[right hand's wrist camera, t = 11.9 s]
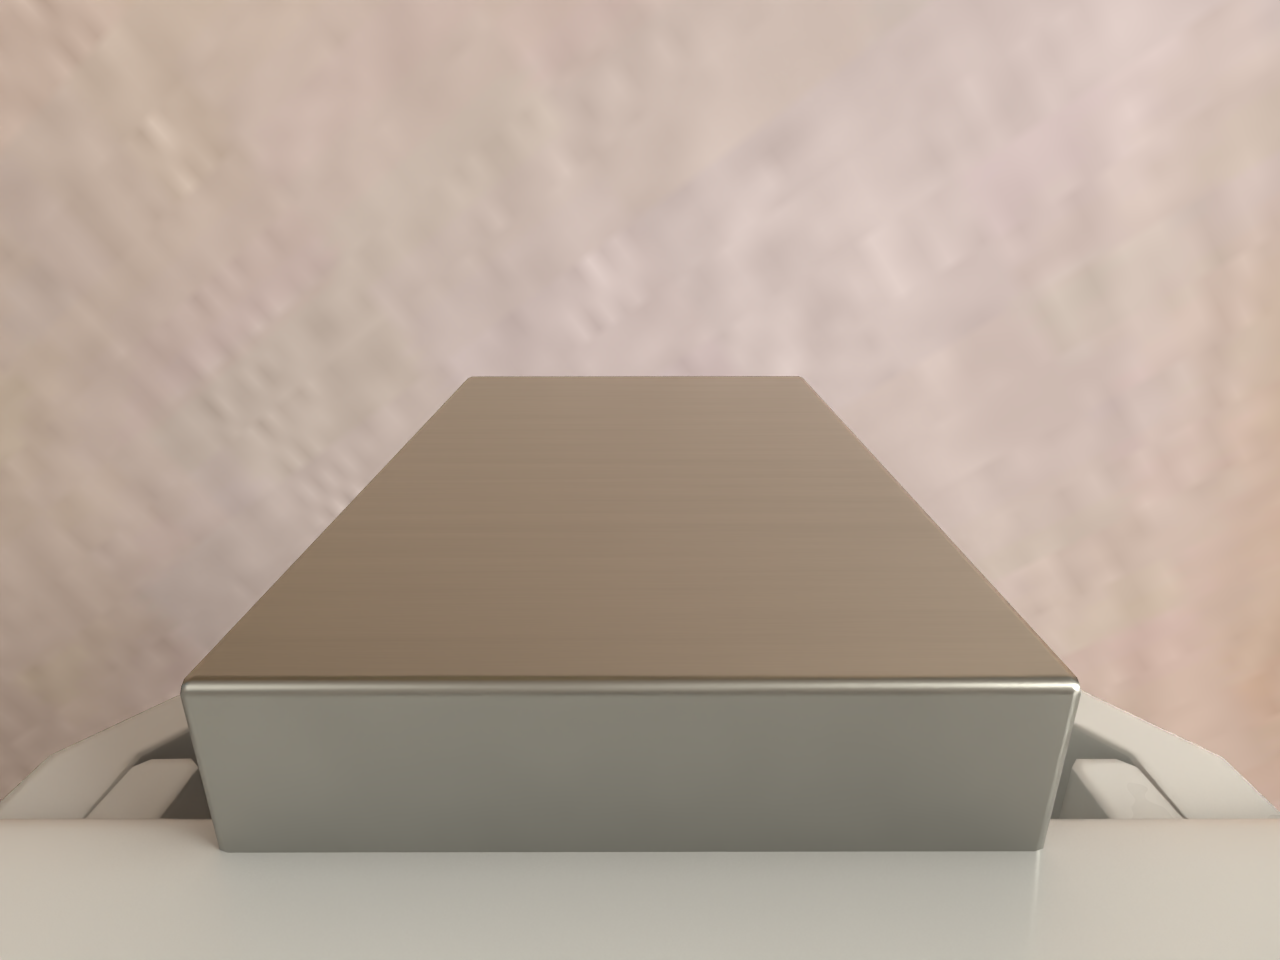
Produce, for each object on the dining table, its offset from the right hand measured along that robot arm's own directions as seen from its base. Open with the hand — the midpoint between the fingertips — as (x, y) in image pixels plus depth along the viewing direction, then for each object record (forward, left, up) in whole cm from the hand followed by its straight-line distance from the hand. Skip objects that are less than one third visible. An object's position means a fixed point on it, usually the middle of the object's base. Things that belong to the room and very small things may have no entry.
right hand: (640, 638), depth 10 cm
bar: (-7, +7, -3) cm, 10 cm away
